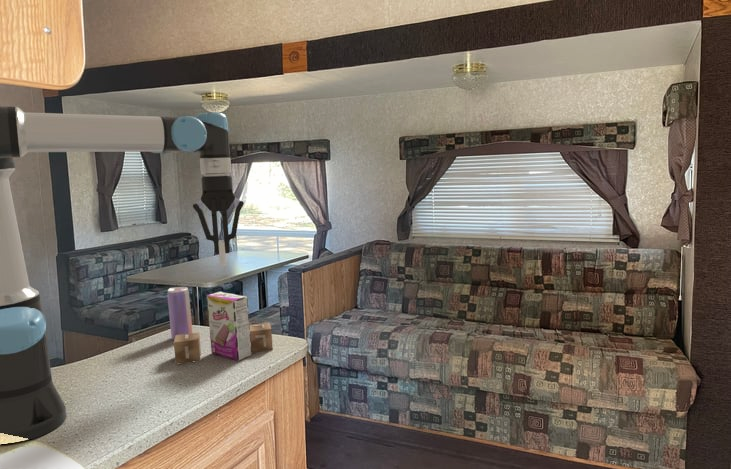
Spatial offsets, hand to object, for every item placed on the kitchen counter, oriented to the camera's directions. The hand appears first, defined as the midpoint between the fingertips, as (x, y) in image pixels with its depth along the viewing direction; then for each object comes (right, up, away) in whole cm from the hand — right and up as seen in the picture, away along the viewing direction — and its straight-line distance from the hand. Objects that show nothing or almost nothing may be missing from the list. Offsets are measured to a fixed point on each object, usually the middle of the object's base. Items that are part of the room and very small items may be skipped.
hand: (223, 265), depth 142 cm
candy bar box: (+1, -24, +4) cm, 25 cm away
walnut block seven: (+8, -23, +9) cm, 26 cm away
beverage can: (-17, -23, +19) cm, 34 cm away
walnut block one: (-10, -25, +2) cm, 27 cm away
